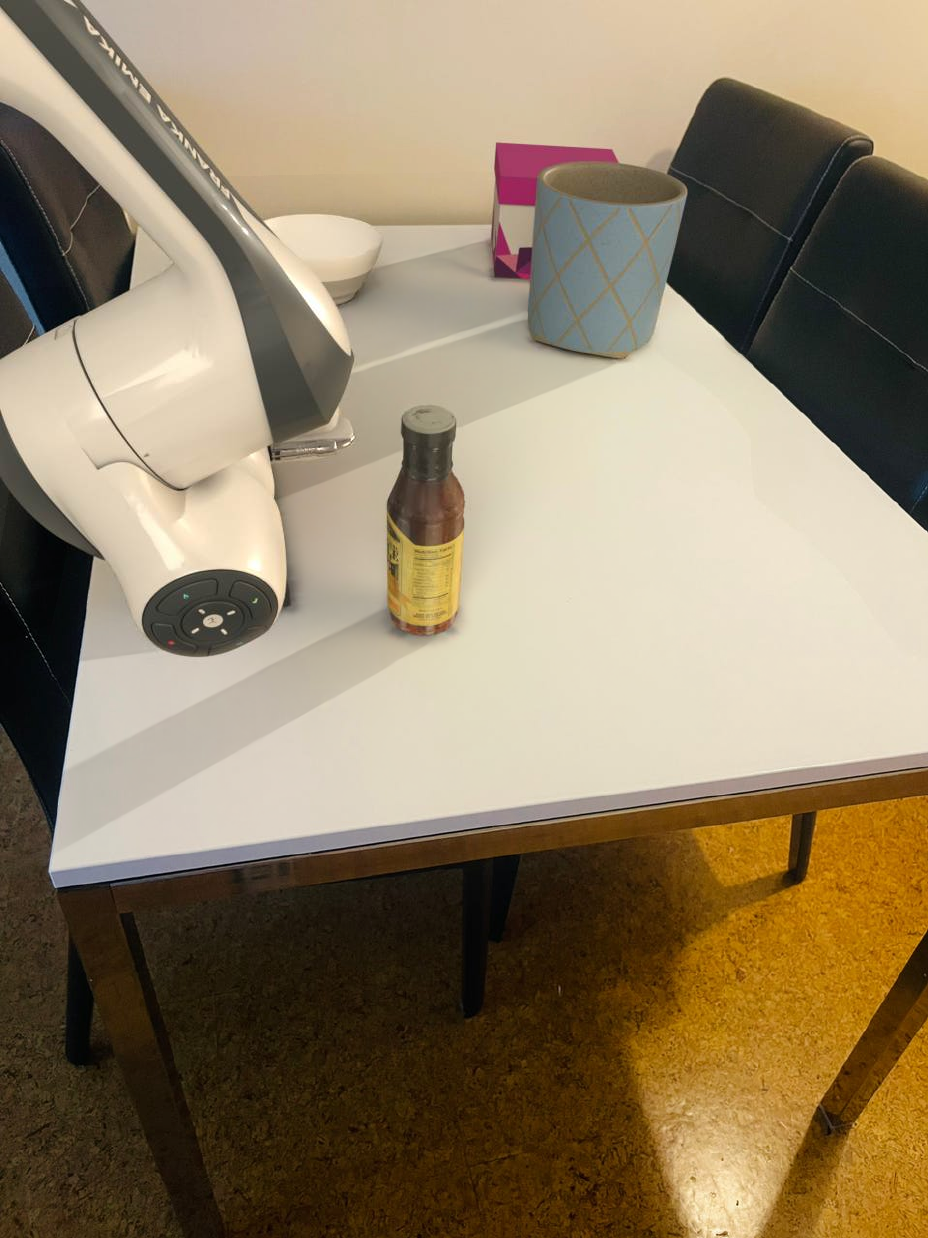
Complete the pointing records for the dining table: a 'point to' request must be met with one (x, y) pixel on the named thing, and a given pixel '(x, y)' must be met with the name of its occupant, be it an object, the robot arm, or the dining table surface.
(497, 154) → the decorative box
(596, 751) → the dining table surface
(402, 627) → the sauce bottle
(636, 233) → the planter
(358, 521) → the dining table surface
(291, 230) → the bowl
